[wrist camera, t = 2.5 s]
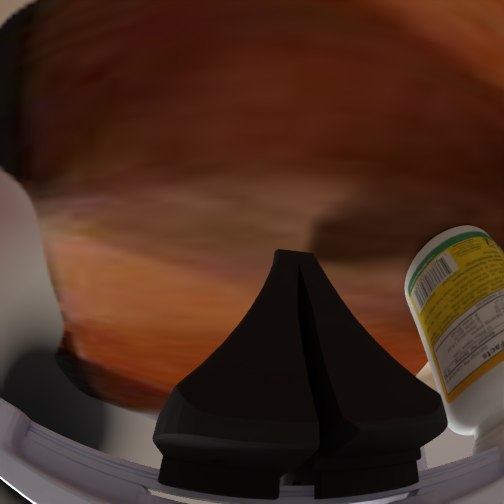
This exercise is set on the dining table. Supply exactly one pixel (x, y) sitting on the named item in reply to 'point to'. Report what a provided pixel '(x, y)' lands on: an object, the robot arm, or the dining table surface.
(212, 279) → the dining table surface
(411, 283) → the supplement bottle
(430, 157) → the dining table surface
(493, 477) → the robot arm
